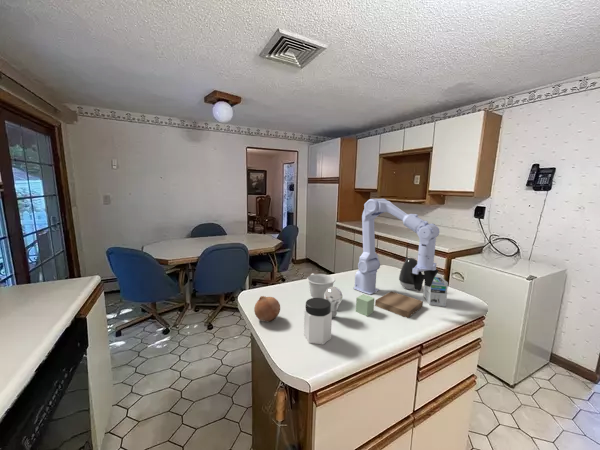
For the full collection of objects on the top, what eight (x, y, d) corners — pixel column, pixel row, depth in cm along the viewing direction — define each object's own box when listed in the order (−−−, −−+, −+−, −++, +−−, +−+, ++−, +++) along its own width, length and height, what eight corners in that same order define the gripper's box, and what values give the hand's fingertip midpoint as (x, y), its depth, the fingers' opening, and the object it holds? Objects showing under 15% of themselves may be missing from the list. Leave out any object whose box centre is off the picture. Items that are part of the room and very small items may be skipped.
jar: (315, 327, 92) (316, 294, 90) (334, 336, 87) (336, 302, 85) (298, 338, 85) (299, 303, 84) (319, 348, 80) (320, 311, 78)
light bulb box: (446, 307, 110) (448, 282, 108) (428, 305, 111) (431, 281, 109) (438, 296, 120) (440, 274, 118) (422, 295, 121) (424, 272, 120)
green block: (355, 311, 104) (356, 297, 103) (362, 307, 108) (363, 294, 107) (366, 316, 101) (367, 301, 100) (373, 312, 104) (374, 298, 103)
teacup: (322, 290, 124) (322, 270, 123) (339, 303, 111) (340, 281, 109) (299, 294, 119) (299, 273, 117) (314, 309, 106) (315, 285, 104)
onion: (257, 326, 97) (246, 302, 97) (277, 313, 102) (267, 290, 102) (267, 329, 89) (255, 302, 89) (288, 315, 94) (277, 289, 94)
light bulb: (342, 314, 102) (344, 285, 100) (339, 323, 95) (341, 292, 93) (325, 311, 104) (326, 282, 102) (321, 319, 97) (322, 289, 95)
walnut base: (375, 305, 110) (375, 300, 109) (391, 296, 119) (391, 291, 119) (408, 318, 100) (408, 312, 99) (422, 306, 109) (423, 301, 109)
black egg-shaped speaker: (412, 283, 136) (415, 255, 134) (424, 291, 126) (427, 260, 124) (394, 283, 135) (396, 255, 132) (405, 292, 125) (407, 261, 122)
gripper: (426, 260, 95) (422, 295, 97) (445, 254, 103) (441, 287, 105) (408, 255, 100) (405, 289, 102) (428, 250, 109) (424, 281, 111)
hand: (422, 288), depth 104 cm, fingers open, 7 cm apart
